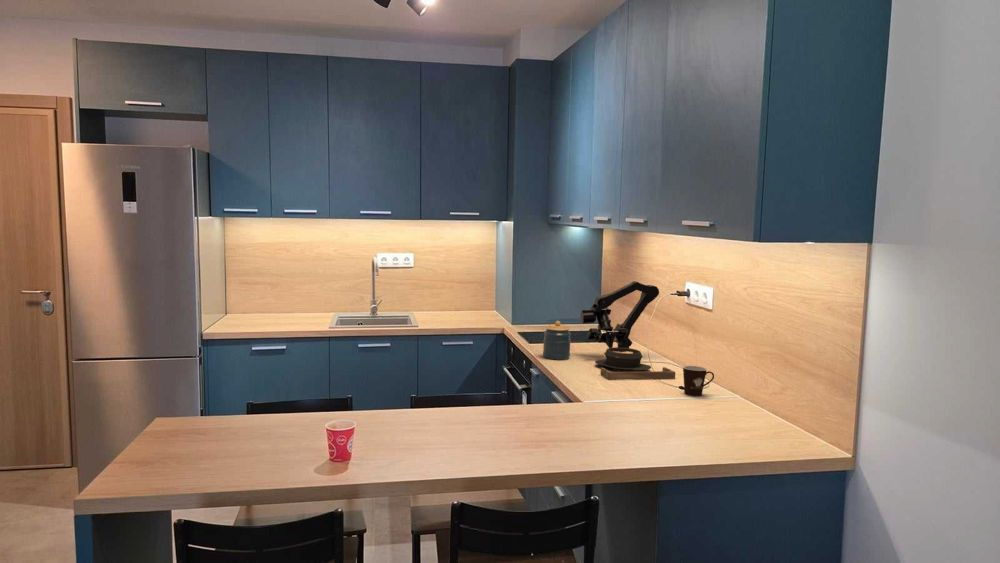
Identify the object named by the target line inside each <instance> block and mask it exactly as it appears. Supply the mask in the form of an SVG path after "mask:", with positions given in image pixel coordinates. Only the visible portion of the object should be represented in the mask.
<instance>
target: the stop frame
mask: <svg viewBox="0 0 1000 563" xmlns="http://www.w3.org/2000/svg"><path fill="white" fill-rule="evenodd" d="M600 374H601V376H602V377H603V376H604V377H603V378H605V379H606V378H607V379H606V380H608V381H617V380H616V379H633V380H634V379H635V380H676V371H674V370H672V369H670V368H668V367H666V366H663V367H662V371H656V370H655V371H610V370H608V369H606V368H604V367H600ZM600 374H599V375H600ZM613 379H615V380H613ZM635 380H634V381H635Z"/></svg>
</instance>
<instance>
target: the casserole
mask: <svg viewBox="0 0 1000 563" xmlns="http://www.w3.org/2000/svg"><path fill="white" fill-rule="evenodd" d="M603 354H604V357H605V358H602V359H598V360H595V361H594V363H595V364H596V365H599V366H604V367H607V368H608V369H610V370H613V369H615V370H614V371H617V370H620V371H619V372H635V371H640V372H644V371H647V370H651V369H652V367H651V365H649V364H644V363H641V361H642V359H643V358H644V357H643V355H642V351H641V350H639V349H636V348H630V347H629V348H621V347H615V346H614V347H613V348H609V347H608V348H606V350H605V352H604V353H603Z"/></svg>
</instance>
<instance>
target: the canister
mask: <svg viewBox="0 0 1000 563" xmlns="http://www.w3.org/2000/svg"><path fill="white" fill-rule="evenodd" d="M545 329H546V330H544V332H543V334H544V338H543V345H542V346H543V350H542V357H543V358H545V359H547V358H548V359H547V360H552V359H555V361H564V360H563V359H566V360H569V359H570V357H571V341H572V339H571V335H572V333H571V332H570V327H568V326H567V325H565V324H561V321H560V320H556V321H555V322H554V323H553V324H548V325H547V326H546V327H545ZM568 358H569V359H568Z"/></svg>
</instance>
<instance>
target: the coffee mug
mask: <svg viewBox="0 0 1000 563" xmlns="http://www.w3.org/2000/svg"><path fill="white" fill-rule="evenodd" d="M682 371H683V391H684V394H685V395H687V396H691V397H701V396H702V395H703V389H704V387H705V386H707V385H708V384H710V383H711V382H713V381H714V378H715V374H714V373H713V372H712V371H707V368H705V367H702V366H696V365H685V366H683V367H682ZM708 374H711V375H712V377H711V379H709V381H707V382H706V383H705V379H706V375H708Z"/></svg>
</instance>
